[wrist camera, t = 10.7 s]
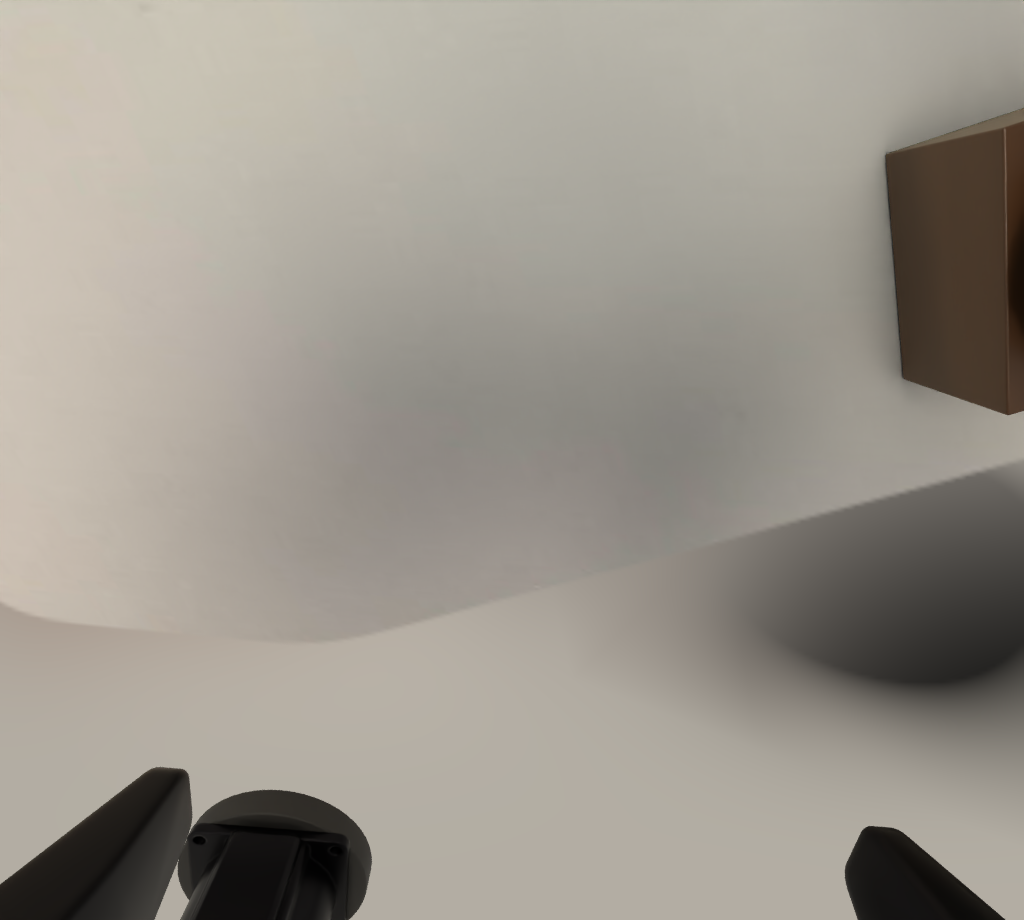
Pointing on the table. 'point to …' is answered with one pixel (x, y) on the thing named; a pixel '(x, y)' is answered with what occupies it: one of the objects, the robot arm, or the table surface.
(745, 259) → the table surface
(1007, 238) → the stand
